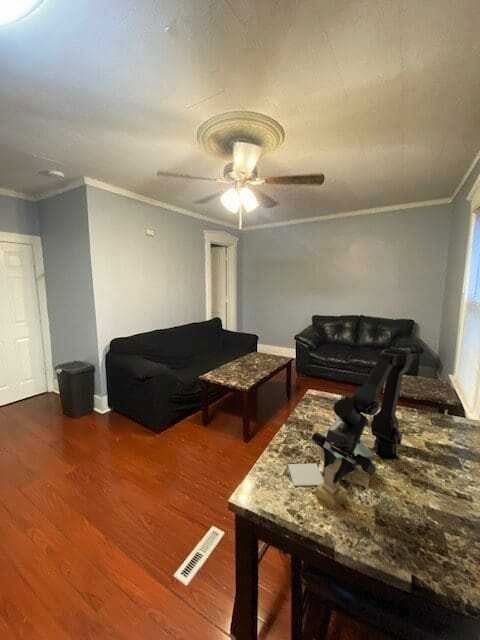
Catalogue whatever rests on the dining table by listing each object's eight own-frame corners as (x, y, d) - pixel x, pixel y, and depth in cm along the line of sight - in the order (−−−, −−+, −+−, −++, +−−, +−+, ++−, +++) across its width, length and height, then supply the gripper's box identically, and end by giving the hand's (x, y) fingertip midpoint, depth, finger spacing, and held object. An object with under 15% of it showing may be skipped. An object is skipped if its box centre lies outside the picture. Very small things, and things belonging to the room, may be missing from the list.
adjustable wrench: (323, 443, 111) (323, 439, 110) (309, 436, 115) (309, 432, 115) (353, 420, 127) (353, 417, 127) (340, 416, 132) (340, 412, 132)
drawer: (358, 453, 102) (359, 435, 101) (373, 473, 92) (374, 453, 91) (319, 454, 102) (320, 436, 101) (329, 474, 92) (329, 454, 91)
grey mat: (316, 464, 97) (316, 463, 97) (325, 485, 87) (325, 484, 87) (287, 465, 97) (287, 464, 97) (293, 486, 87) (293, 485, 87)
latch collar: (328, 486, 86) (328, 478, 86) (346, 499, 82) (346, 489, 81) (315, 496, 83) (316, 487, 82) (334, 509, 78) (334, 500, 77)
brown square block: (329, 492, 84) (330, 463, 83) (338, 498, 82) (339, 469, 81) (323, 497, 82) (324, 467, 81) (332, 503, 80) (333, 473, 79)
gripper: (315, 408, 89) (291, 453, 83) (373, 433, 74) (348, 489, 69) (329, 423, 94) (307, 466, 89) (385, 449, 80) (363, 502, 75)
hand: (328, 479), depth 80 cm, fingers closed on brown square block, 3 cm apart
